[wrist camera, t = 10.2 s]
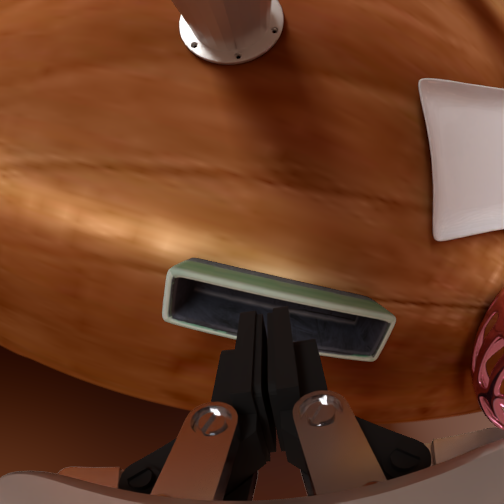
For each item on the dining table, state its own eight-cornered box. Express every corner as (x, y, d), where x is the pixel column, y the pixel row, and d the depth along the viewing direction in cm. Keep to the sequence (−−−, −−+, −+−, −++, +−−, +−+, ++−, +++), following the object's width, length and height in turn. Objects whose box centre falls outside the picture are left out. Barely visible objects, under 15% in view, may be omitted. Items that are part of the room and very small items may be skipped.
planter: (380, 291, 39) (399, 317, 33) (361, 333, 42) (375, 363, 35) (183, 246, 38) (166, 267, 32) (175, 294, 41) (160, 322, 34)
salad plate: (422, 237, 37) (434, 244, 34) (406, 81, 30) (417, 76, 27) (517, 220, 35) (530, 225, 32) (508, 92, 28) (522, 91, 25)
